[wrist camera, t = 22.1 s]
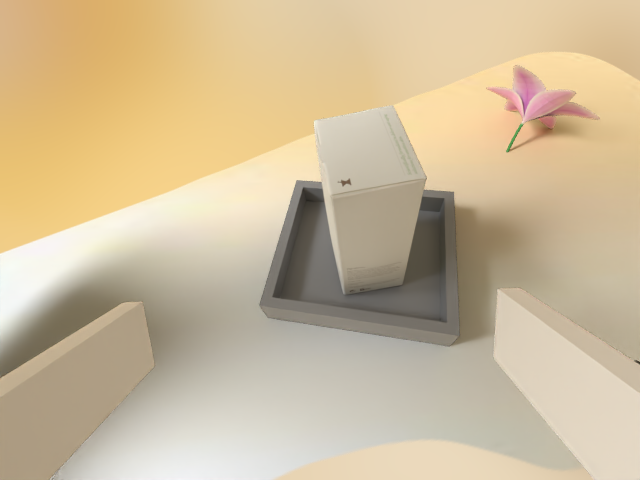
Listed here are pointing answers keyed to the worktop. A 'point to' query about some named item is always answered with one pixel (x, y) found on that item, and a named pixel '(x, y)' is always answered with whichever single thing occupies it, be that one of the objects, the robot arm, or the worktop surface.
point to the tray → (376, 305)
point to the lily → (538, 100)
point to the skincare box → (369, 196)
